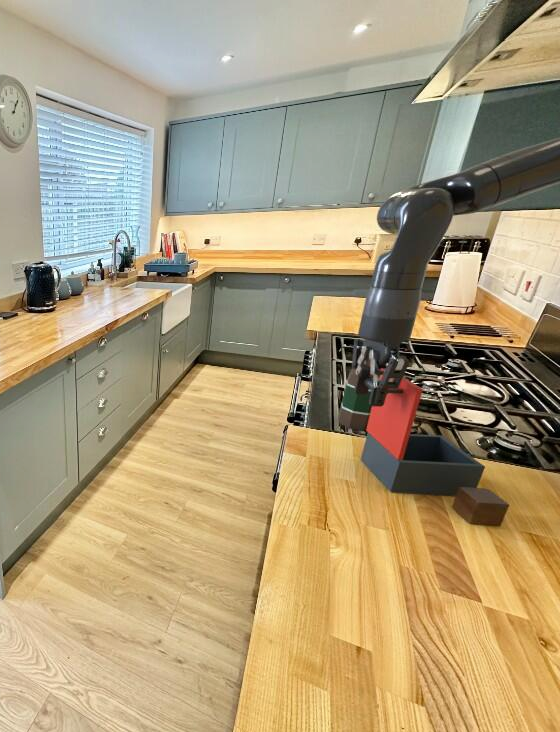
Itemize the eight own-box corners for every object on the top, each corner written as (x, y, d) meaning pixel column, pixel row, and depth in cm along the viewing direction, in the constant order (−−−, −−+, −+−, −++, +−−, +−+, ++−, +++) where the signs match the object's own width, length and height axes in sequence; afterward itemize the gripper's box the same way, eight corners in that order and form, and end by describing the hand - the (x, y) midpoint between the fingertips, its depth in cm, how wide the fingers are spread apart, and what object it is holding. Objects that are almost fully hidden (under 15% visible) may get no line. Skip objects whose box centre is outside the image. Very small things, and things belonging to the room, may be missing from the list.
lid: (385, 366, 83) (357, 366, 84) (423, 389, 72) (390, 388, 73) (370, 430, 88) (343, 429, 89) (402, 460, 77) (372, 459, 78)
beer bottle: (367, 434, 100) (392, 338, 91) (331, 423, 106) (352, 332, 97) (379, 424, 104) (405, 331, 95) (344, 414, 110) (365, 326, 101)
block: (480, 509, 75) (488, 488, 73) (500, 526, 70) (510, 504, 69) (451, 507, 75) (459, 486, 74) (469, 524, 71) (478, 502, 70)
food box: (432, 463, 88) (441, 435, 86) (473, 497, 77) (485, 466, 75) (360, 459, 91) (367, 432, 88) (390, 492, 80) (399, 462, 78)
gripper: (441, 321, 66) (412, 416, 73) (390, 303, 79) (370, 385, 86) (387, 322, 68) (364, 415, 74) (346, 304, 81) (329, 385, 87)
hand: (367, 399), depth 80 cm, fingers closed on lid, 5 cm apart
